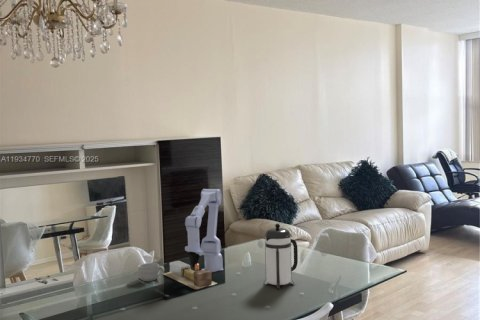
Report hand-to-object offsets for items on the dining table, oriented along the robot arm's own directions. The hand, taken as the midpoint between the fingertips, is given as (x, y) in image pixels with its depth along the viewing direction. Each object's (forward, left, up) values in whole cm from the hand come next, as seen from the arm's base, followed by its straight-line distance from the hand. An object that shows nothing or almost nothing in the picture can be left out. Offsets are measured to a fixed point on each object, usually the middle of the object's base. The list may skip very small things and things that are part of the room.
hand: (194, 266), depth 240 cm
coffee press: (-30, +30, -8) cm, 43 cm away
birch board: (0, -6, -8) cm, 10 cm away
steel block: (0, -15, -7) cm, 17 cm away
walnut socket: (0, +7, -7) cm, 10 cm away
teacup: (+15, -18, -8) cm, 25 cm away
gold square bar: (0, -3, -6) cm, 7 cm away
